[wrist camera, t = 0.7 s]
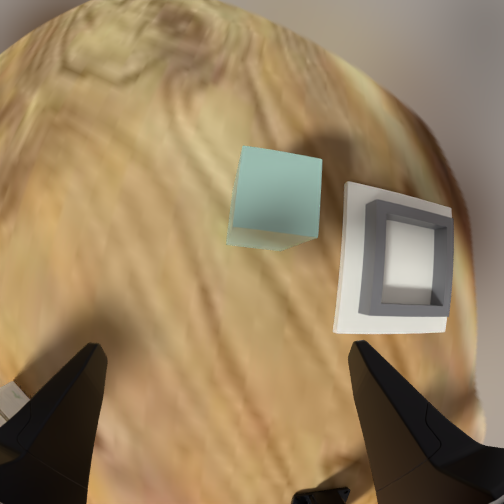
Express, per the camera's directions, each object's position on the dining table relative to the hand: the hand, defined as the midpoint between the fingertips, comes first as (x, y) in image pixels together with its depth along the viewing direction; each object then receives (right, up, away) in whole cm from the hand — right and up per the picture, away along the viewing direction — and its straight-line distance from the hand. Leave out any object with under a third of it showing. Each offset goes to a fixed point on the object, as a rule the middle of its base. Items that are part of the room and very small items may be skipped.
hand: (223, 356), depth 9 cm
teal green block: (+1, +6, +14) cm, 16 cm away
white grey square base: (+15, +2, +16) cm, 22 cm away
